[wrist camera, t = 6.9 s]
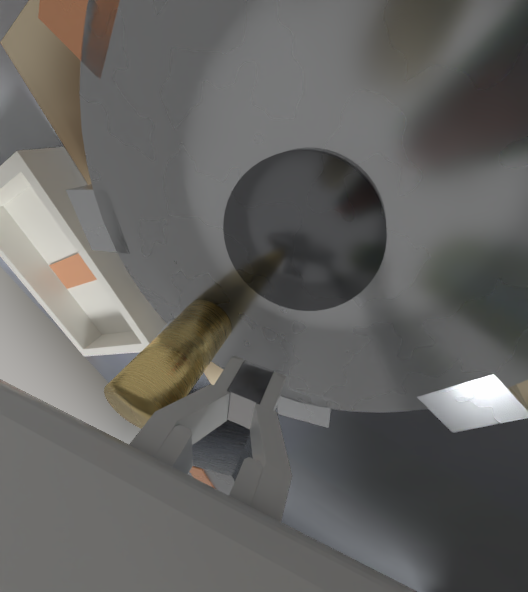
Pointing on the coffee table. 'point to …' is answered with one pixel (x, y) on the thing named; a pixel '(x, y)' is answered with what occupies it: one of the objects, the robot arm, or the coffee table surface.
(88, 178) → the sprocket base
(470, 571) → the coffee table surface
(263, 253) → the sprocket
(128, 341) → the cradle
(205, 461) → the gray banded block
